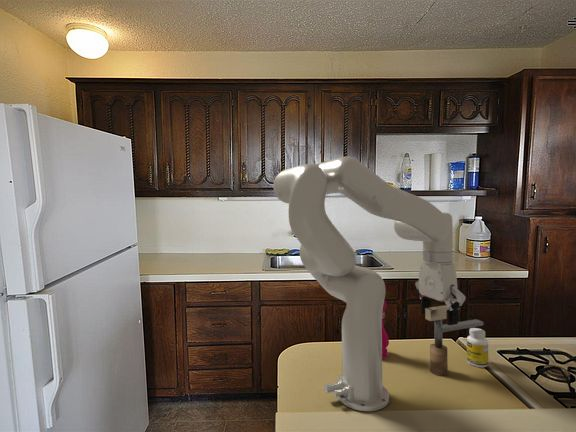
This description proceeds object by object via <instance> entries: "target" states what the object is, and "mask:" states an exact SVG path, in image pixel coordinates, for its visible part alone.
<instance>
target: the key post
mask: <svg viewBox="0 0 576 432" xmlns="http://www.w3.org/2000/svg"><path fill="white" fill-rule="evenodd" d="M448 363H449V362H448V347H447V346H446V345H444V344H443V347H436V346H435V343H430V345H429V367H430V368H429V370H430V373H431V374H434V375H435V376H439V377H445V376H447V375H448V373H449V371H448V369H449V368H448V366H449V365H448Z"/></svg>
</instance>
